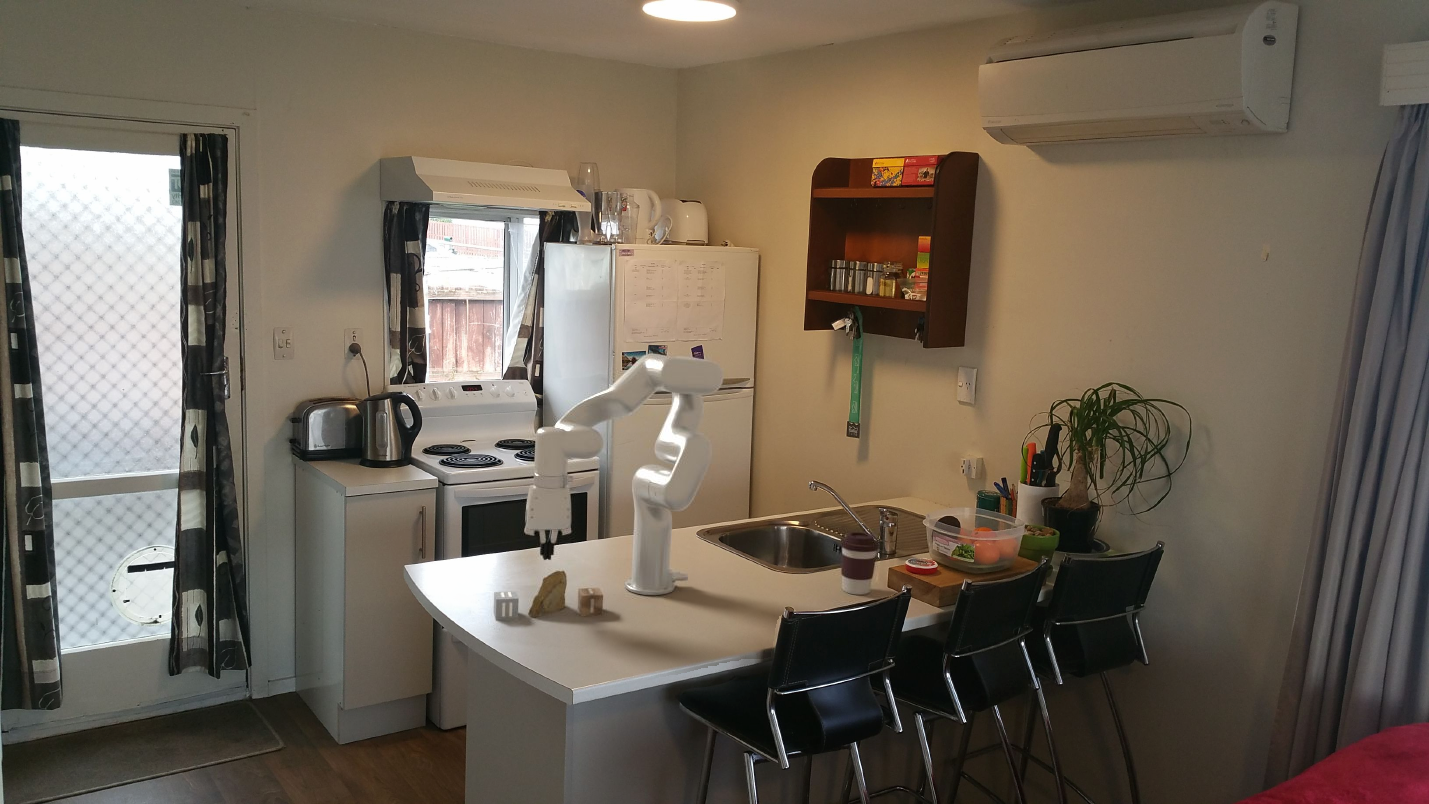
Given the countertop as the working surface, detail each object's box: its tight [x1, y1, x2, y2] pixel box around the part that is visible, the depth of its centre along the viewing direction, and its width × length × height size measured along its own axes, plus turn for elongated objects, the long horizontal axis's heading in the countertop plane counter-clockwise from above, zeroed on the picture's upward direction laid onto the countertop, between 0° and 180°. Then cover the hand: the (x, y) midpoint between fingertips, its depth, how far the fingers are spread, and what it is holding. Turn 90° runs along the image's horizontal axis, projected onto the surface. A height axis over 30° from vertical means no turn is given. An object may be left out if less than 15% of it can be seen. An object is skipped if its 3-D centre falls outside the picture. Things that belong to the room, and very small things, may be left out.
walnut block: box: [577, 587, 604, 617], centre depth 244 cm, size 5×5×5 cm
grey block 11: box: [493, 590, 520, 621], centre depth 238 cm, size 5×5×5 cm
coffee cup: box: [839, 531, 880, 596], centre depth 269 cm, size 10×10×15 cm
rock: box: [527, 570, 568, 618], centre depth 243 cm, size 11×9×10 cm
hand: (546, 558), depth 241 cm, fingers closed
